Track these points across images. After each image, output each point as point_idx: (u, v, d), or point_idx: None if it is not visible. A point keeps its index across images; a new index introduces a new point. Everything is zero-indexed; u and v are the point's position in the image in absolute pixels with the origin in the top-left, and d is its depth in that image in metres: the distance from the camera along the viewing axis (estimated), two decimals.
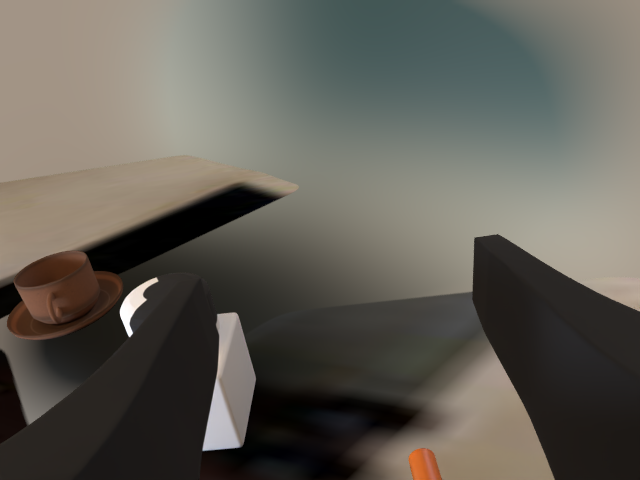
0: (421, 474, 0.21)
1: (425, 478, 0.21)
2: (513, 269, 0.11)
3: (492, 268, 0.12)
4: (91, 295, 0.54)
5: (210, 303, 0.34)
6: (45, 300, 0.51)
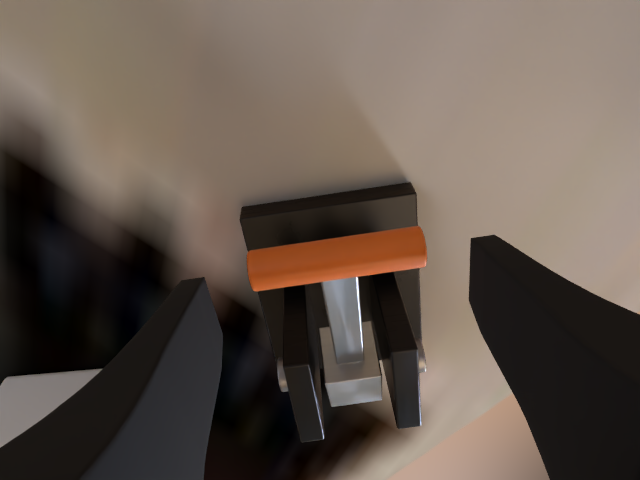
0: (296, 282, 0.14)
1: (304, 279, 0.14)
2: (509, 270, 0.11)
3: (488, 269, 0.12)
4: None
5: None
6: None
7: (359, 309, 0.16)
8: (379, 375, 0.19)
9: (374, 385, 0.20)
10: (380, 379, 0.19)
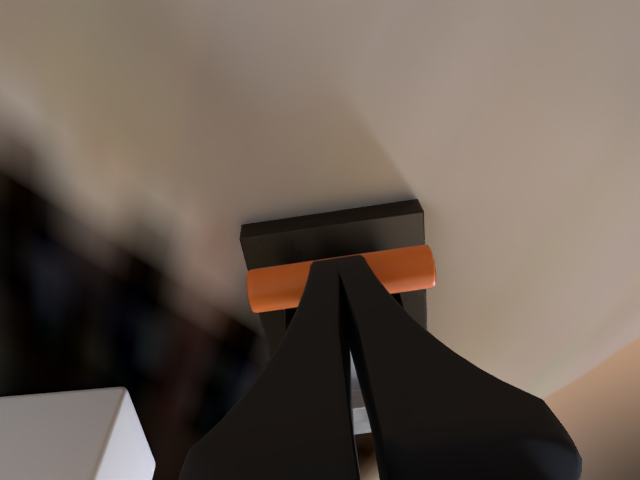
0: (298, 303, 0.13)
1: None
2: (349, 293, 0.11)
3: (342, 290, 0.12)
4: None
5: None
6: None
7: None
8: None
9: None
10: None
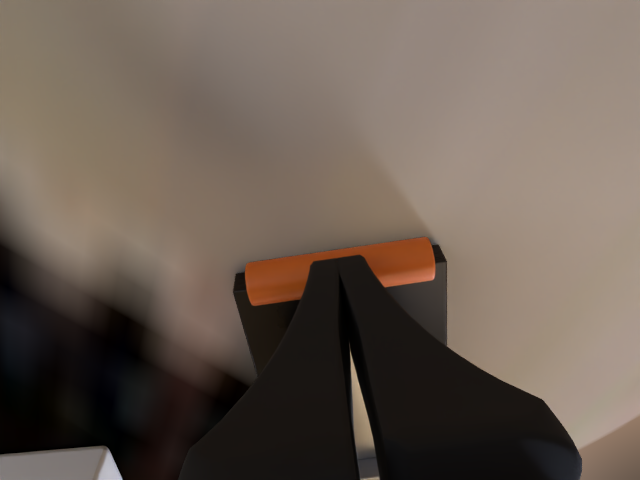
0: (295, 289, 0.13)
1: (304, 284, 0.13)
2: (349, 293, 0.11)
3: (342, 290, 0.12)
4: None
5: None
6: None
7: None
8: None
9: None
10: None
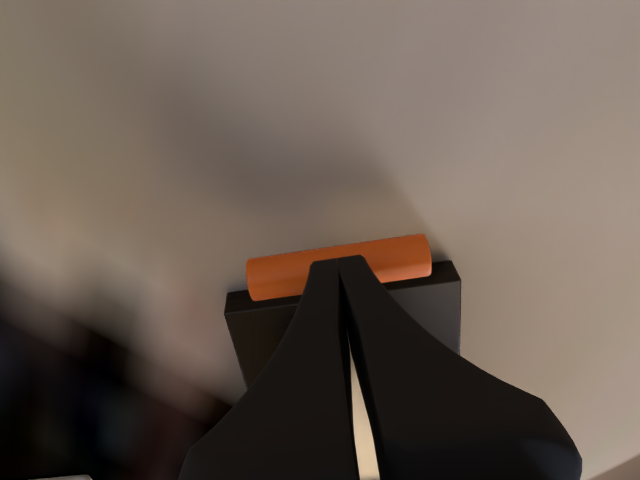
0: (294, 279, 0.13)
1: (302, 273, 0.13)
2: (349, 293, 0.11)
3: (342, 289, 0.12)
4: None
5: None
6: None
7: None
8: None
9: None
10: None
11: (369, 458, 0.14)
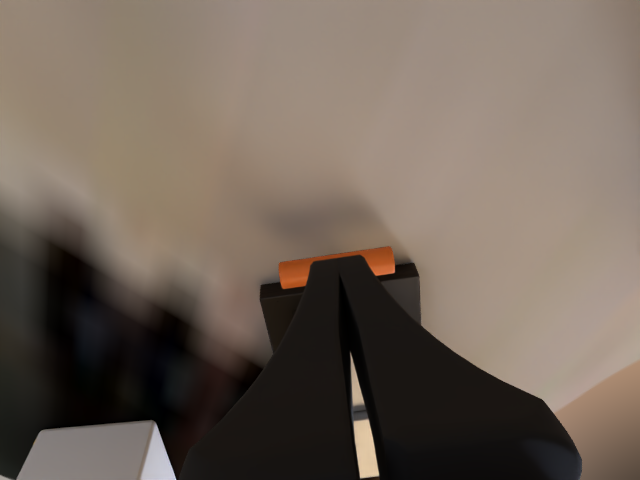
0: None
1: None
2: (349, 293, 0.11)
3: (342, 290, 0.12)
4: None
5: None
6: None
7: None
8: None
9: None
10: None
11: (356, 389, 0.22)
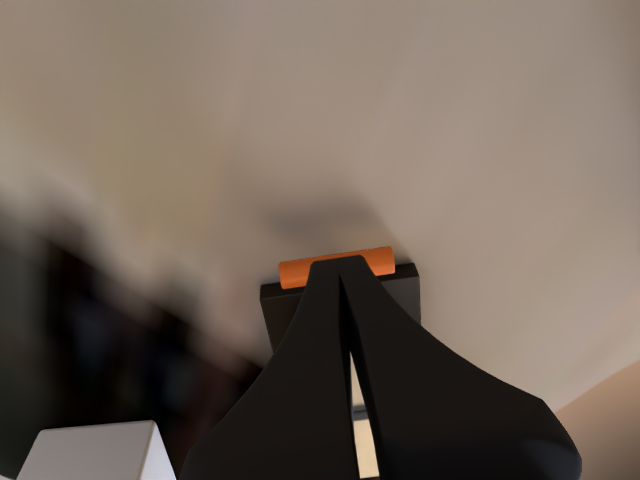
0: None
1: None
2: (349, 293, 0.11)
3: (342, 290, 0.12)
4: None
5: None
6: None
7: None
8: None
9: None
10: None
11: (356, 389, 0.22)
